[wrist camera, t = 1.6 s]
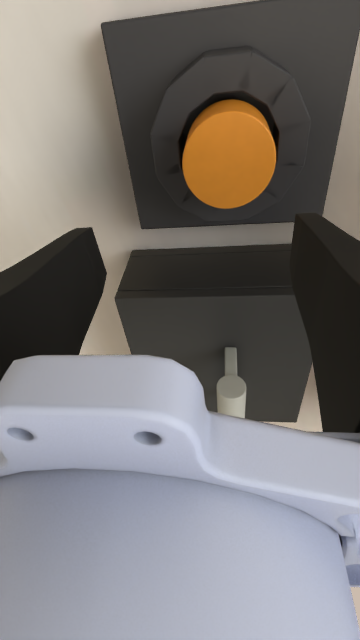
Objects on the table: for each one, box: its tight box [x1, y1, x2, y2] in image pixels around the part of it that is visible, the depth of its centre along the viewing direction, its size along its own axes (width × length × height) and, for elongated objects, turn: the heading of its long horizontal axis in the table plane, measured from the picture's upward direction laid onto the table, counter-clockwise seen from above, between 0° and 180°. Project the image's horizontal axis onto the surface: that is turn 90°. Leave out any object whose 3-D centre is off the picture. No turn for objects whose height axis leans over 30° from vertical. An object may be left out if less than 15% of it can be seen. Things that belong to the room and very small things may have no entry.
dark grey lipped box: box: [118, 244, 292, 291], centre depth 24 cm, size 11×13×4 cm
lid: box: [115, 288, 312, 422], centre depth 21 cm, size 11×13×4 cm
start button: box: [182, 99, 276, 209], centre depth 14 cm, size 4×4×2 cm
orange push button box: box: [101, 0, 360, 229], centre depth 15 cm, size 10×9×4 cm
